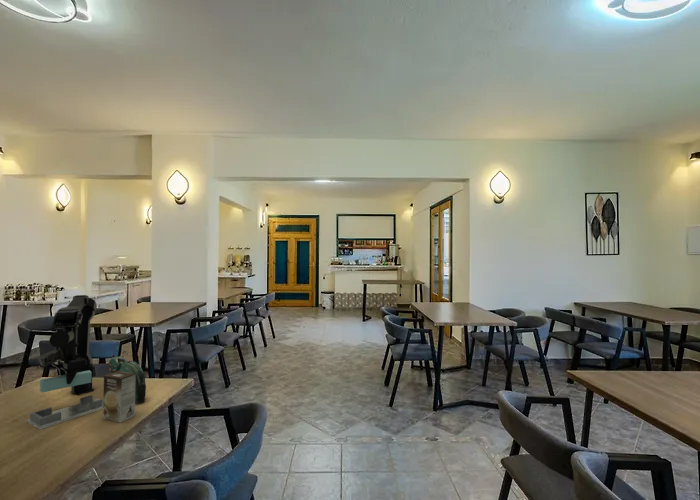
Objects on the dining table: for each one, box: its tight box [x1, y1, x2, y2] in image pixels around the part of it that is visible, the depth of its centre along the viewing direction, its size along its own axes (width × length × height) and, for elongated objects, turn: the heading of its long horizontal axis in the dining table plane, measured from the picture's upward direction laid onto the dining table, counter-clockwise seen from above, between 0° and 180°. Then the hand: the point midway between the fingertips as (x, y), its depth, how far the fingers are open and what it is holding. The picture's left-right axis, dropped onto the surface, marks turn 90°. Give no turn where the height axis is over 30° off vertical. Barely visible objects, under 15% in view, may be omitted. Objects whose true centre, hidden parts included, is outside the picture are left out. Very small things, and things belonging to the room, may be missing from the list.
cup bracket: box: [26, 394, 103, 430], centre depth 134 cm, size 22×11×3 cm, turn 149°
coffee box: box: [102, 370, 136, 424], centre depth 132 cm, size 9×6×16 cm
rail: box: [39, 370, 93, 394], centre depth 135 cm, size 15×4×4 cm, turn 138°
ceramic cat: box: [108, 350, 147, 405], centre depth 149 cm, size 20×6×20 cm, turn 63°
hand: (66, 383), depth 135 cm, fingers closed on rail, 4 cm apart
